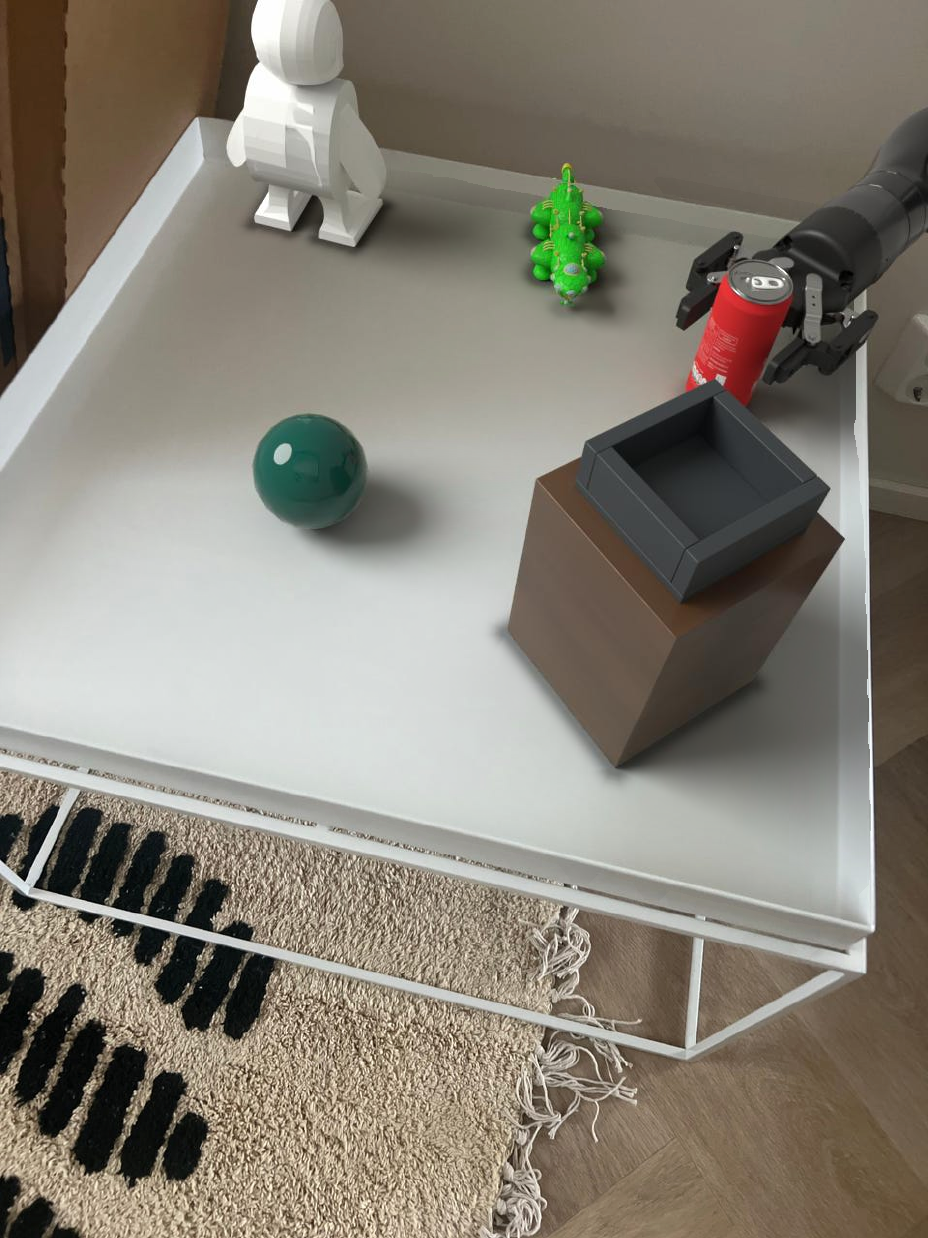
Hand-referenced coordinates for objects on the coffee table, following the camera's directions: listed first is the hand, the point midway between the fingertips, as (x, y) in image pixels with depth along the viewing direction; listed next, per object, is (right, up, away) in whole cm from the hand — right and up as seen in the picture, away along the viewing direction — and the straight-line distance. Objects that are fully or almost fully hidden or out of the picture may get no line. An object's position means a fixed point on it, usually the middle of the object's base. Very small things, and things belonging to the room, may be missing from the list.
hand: (724, 346), depth 73 cm
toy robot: (-33, +16, +16) cm, 40 cm away
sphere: (-30, -12, -1) cm, 33 cm away
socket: (-7, -14, -20) cm, 26 cm away
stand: (-8, -23, -6) cm, 25 cm away
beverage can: (+1, -3, +7) cm, 8 cm away
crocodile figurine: (-10, +13, +16) cm, 23 cm away
